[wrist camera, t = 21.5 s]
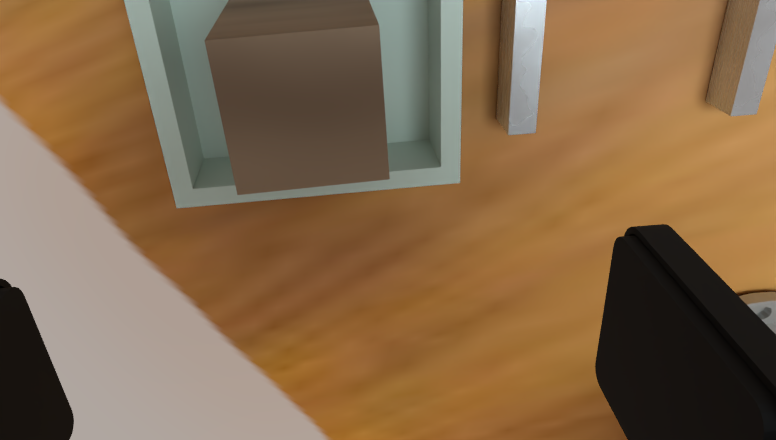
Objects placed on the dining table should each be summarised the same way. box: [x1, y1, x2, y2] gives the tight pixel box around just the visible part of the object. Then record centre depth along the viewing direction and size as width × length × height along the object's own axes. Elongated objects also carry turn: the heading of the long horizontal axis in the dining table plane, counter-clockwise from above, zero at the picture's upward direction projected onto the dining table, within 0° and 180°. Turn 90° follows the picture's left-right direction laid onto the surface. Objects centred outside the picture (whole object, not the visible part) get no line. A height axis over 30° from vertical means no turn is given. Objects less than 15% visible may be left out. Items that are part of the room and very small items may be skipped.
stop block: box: [204, 0, 390, 195], centre depth 21 cm, size 4×4×9 cm
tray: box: [124, 0, 463, 208], centre depth 24 cm, size 12×12×4 cm
